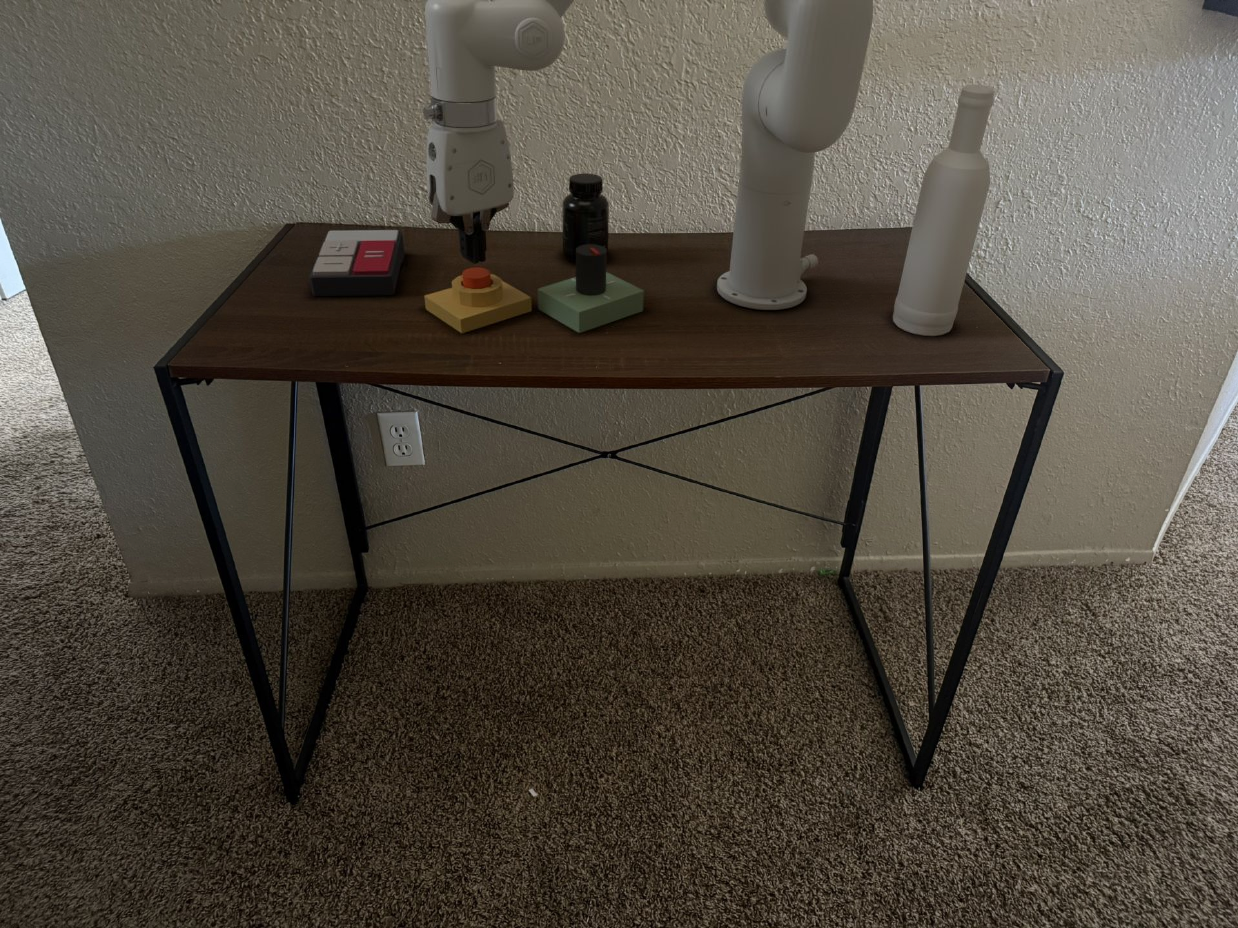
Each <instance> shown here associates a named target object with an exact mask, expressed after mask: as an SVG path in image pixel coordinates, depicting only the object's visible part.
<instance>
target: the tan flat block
mask: <svg viewBox="0 0 1238 928" xmlns="http://www.w3.org/2000/svg"><path fill="white" fill-rule="evenodd" d="M490 278H491V286H490V287H486V288H483V289H470V288H465V287H464V286H463V275H462V274H461V275H458V276H457V277H455V278H454V279H453V280H451V287H450V288H446V289H442V290H439V291H435V292H432V293H429V294H425V295H424V296H423V297H424V305H425V310H426V311H427V312H429V313H431V314H432V315H433V316H435V317H436V318H438V319H439V320H441V321H442V322H444V323H446V324H447V326H448V325H449V326H450V327H451V328H453V329H454V330H456V331H457V332H459V333H460V334H465V333H467V332H471V331H474V330H477V329H481V328H483V327H487V326H489V325H492V324H493V325H494V324H496V323H499V322H502V321H505V320H509V319H512V318H515V317H518V316H521V315H524V314H527V313H530V312H532V311H533V310H532V309H533V307H532V304H533V303H532V297H531V296H530V295H528V294H526V293H524V292H522V291H521V290H519V289H517V288H516V287H514V286H512V285H511V284H509V283H507V282H505V281H504V280H502V278H501V277H499V276H497V275H496V274H493V273H490Z"/></svg>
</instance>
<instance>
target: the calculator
mask: <svg viewBox="0 0 1238 928" xmlns="http://www.w3.org/2000/svg"><path fill="white" fill-rule="evenodd" d="M403 238H404V237H403V232H402V231H400V230H398V229H366V230H365V229H359V230H358V229H357V230H355V229H354V230H353V229H352V230H329V231H327V232H326V233H325V235H324V238H323V240H322V242H321V246H320V248H319V251H318V253H317V255H316V258H315V260H314V263H313V266H312V269H311V270H310V273H309V276H308V278H309V282H310V287H311V292H312V296H313V297H356V296H357V297H363V296H365V297H366V296H367V297H368V296H369V297H370V296H372V297H373V296H393V295H395V292H396V288H397V284H398V279H399V274H400V271H401V266H402V264H403V263H404V258H405V244H404V239H403Z"/></svg>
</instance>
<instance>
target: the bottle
mask: <svg viewBox="0 0 1238 928" xmlns="http://www.w3.org/2000/svg"><path fill="white" fill-rule="evenodd" d="M995 94H996V93H995V89H994V88H993V87H991V86H989V85H983V84H975V83H974V84H965V85H964V86H963V87H962V88H961V92H960V94H959V96H958V97H957V98H958V99H957V109H956V113H955V118H954V121H953V126H952V130H951V134H950V138H949V144H948V146H947V147H946V148H944V149H943V150H942V151H941V152H939V153H937V154H936V155H935V156H934V157H933V158H932V159H931V161H930V163H929V164H928V166H927V168H926V169H925V172H924V174H923V178H922V183H921V187H920V191H919V195H918V200H917V205H916V209H915V213H914V219H913V223H912V228H911V232H910V235H909V236H910V237H909V241H908V246H907V251H906V254H905V259H904V264H903V268H902V269H903V270H902V271H901V272H902V273H901V276H900V277H901V278H900V281H899V287H898V291H897V296H896V297H895V301H894V305H893V314H892V322H893V323H894V324H895V325H896V326H897V328H899V329H901V330H902V331H904V332H907V333H911V334H913V335H916V336H917V335H918V336H923V337H937V336H943V335H945V334H947V333H950V331H951V330H952V329H953V327H954V326H953V325H954V322H955V320H956V317H957V313H958V311H959V303H960V299H961V297H962V293H963V288H964V285H965V280H966V277H967V273H968V269H969V266H970V261H971V258H972V254H973V250H974V246H975V242H976V240H977V235H978V231H979V227H980V224H981V220H982V215H983V212H984V208H985V204H986V201H987V197H988V193H989V190H990V186H991V170H990V164H989V162H988V160H987V159H986V157H985V156H984V155H983V153H982V152H981V148H982V144H983V140H984V137H985V132H986V128H987V125H988V121H989V116H990V112H991V109H992V107H993V106H994V102H995V100H994V97H995Z"/></svg>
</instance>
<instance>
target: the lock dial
mask: <svg viewBox="0 0 1238 928" xmlns="http://www.w3.org/2000/svg"><path fill="white" fill-rule="evenodd" d="M606 257H607V258H608V256H607V250H606V248H605V247H603V246H600V245H595V244H587V245H581V246H579V247H577V248H576V264H575V277H576V291H577V292H579V293H581V294H584V295H599V294H602V293H604V292H605V290H606V272H607V258H606Z"/></svg>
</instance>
